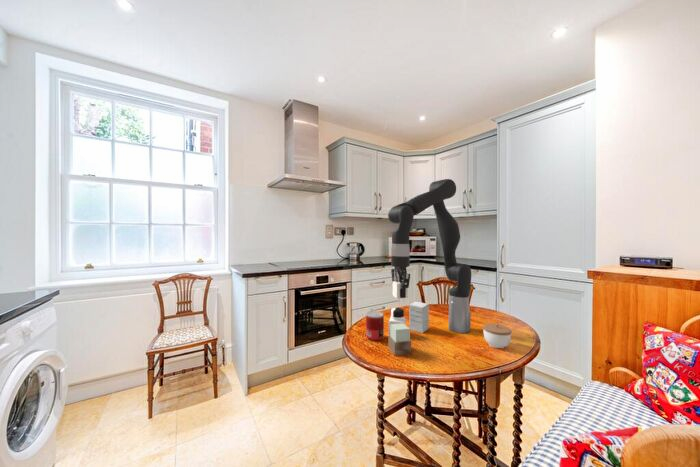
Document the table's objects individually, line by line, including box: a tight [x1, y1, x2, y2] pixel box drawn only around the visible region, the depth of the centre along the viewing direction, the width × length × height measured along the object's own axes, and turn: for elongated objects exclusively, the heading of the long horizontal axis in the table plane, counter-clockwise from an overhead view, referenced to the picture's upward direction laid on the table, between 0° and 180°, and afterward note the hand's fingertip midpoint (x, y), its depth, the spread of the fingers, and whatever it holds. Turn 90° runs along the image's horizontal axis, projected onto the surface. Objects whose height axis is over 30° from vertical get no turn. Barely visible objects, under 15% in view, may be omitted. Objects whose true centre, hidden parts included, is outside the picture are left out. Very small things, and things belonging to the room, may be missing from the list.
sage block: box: [389, 323, 411, 342], centre depth 106 cm, size 6×6×5 cm
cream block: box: [392, 281, 409, 300], centre depth 105 cm, size 5×5×6 cm
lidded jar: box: [482, 322, 513, 349], centre depth 110 cm, size 11×11×9 cm
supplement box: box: [408, 301, 430, 334], centre depth 128 cm, size 7×7×13 cm
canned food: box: [365, 311, 385, 342], centre depth 118 cm, size 8×8×11 cm
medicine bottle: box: [388, 307, 407, 336], centre depth 122 cm, size 7×7×12 cm
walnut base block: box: [387, 335, 412, 356], centre depth 105 cm, size 7×7×5 cm
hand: (400, 295), depth 105 cm, fingers closed on cream block, 4 cm apart
